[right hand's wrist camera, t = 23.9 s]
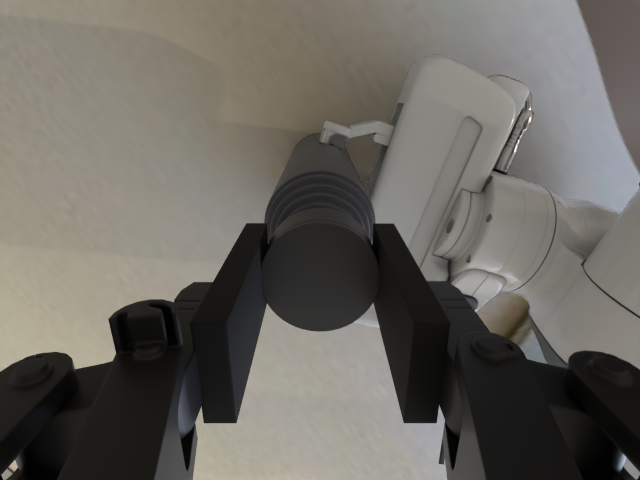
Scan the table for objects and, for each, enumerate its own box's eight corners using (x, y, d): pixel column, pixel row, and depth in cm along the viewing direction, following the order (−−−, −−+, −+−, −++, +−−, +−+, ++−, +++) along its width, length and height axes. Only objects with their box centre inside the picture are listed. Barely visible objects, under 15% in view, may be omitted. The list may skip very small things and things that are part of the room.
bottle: (279, 164, 34) (215, 272, 13) (318, 120, 33) (317, 164, 12) (321, 203, 36) (322, 356, 15) (361, 162, 34) (425, 267, 13)
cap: (254, 219, 14) (244, 236, 12) (363, 196, 13) (369, 211, 12) (281, 313, 15) (276, 340, 13) (381, 295, 15) (388, 320, 13)
